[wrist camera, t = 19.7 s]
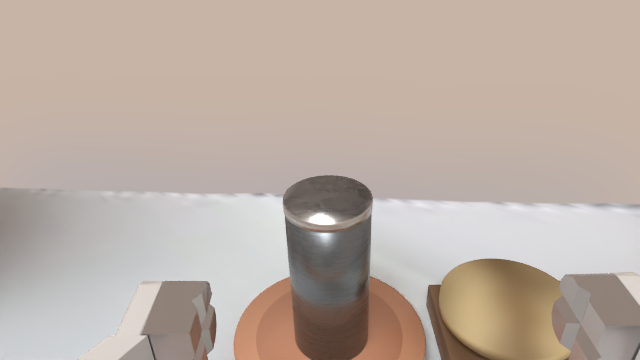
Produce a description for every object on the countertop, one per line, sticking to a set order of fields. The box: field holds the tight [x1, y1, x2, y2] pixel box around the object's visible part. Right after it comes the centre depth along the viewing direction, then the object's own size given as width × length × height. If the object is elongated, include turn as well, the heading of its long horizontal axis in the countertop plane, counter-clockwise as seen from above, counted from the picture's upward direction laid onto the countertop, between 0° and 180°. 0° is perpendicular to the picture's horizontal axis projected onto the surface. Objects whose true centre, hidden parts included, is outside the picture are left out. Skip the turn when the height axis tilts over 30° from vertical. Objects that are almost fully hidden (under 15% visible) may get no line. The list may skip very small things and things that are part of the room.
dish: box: [234, 277, 425, 360], centre depth 33 cm, size 13×13×1 cm
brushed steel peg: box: [283, 175, 373, 360], centre depth 30 cm, size 5×5×11 cm
